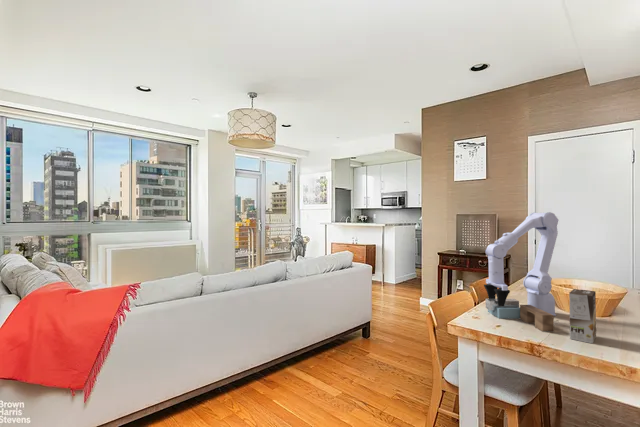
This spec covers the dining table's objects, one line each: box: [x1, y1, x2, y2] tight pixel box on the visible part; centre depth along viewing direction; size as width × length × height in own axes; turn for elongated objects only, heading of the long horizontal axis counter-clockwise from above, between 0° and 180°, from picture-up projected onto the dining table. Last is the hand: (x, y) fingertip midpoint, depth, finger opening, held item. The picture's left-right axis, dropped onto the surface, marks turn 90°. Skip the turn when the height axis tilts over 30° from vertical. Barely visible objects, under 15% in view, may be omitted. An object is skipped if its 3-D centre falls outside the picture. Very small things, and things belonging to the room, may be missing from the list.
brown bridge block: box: [519, 304, 555, 332], centre depth 126 cm, size 4×14×6 cm, turn 178°
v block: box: [487, 306, 520, 320], centre depth 139 cm, size 10×10×4 cm
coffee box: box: [569, 288, 597, 344], centre depth 113 cm, size 9×6×16 cm
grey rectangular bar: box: [485, 298, 520, 311], centre depth 139 cm, size 12×4×4 cm, turn 85°
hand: (496, 303), depth 139 cm, fingers open, 7 cm apart
